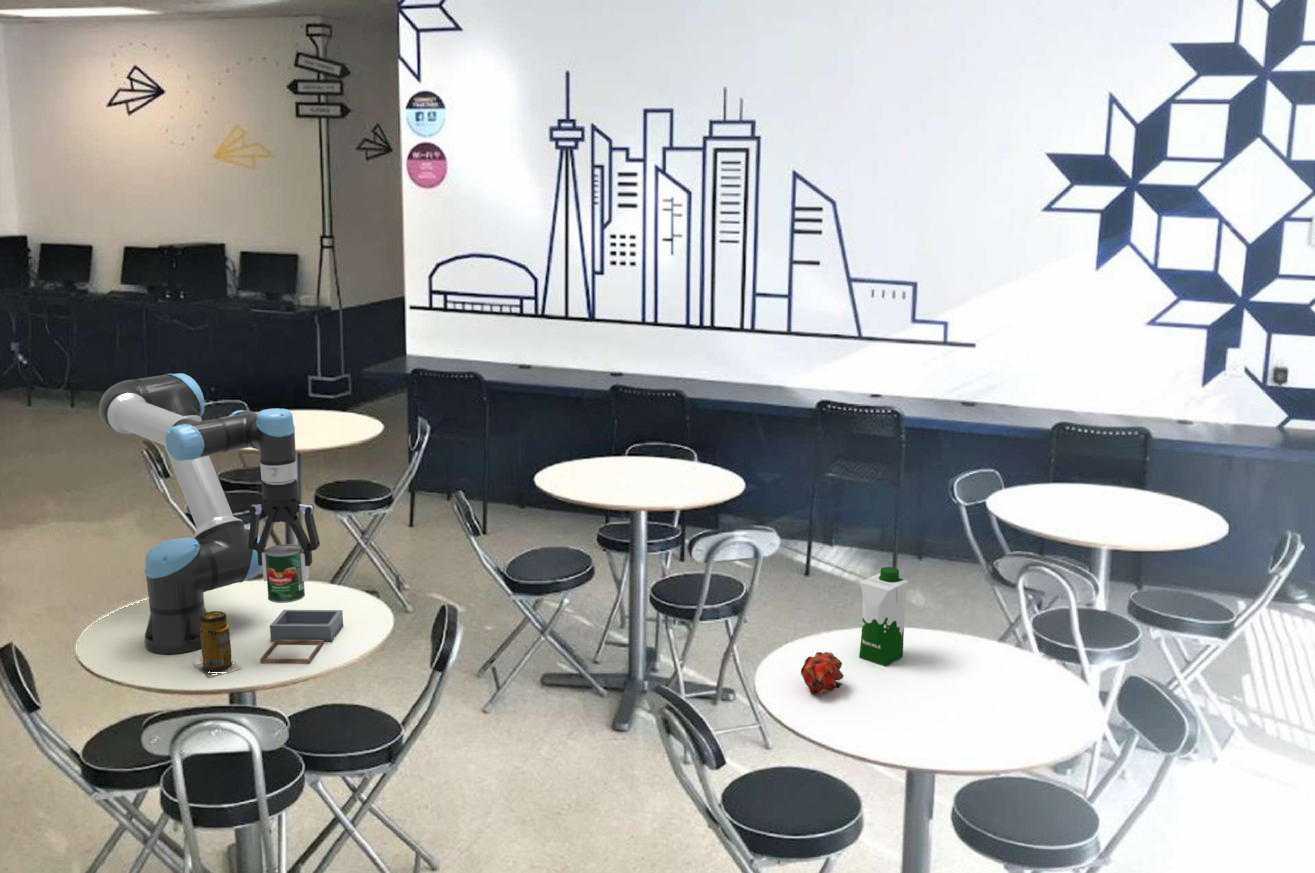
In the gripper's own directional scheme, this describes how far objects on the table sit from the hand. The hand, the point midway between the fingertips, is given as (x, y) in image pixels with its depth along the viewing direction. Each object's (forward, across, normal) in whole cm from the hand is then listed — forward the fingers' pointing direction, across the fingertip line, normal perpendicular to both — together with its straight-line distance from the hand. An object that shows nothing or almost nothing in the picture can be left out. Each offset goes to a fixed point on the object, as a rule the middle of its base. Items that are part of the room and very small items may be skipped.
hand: (286, 578), depth 272 cm
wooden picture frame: (+18, 0, 0) cm, 18 cm away
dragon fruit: (+17, +117, -17) cm, 120 cm away
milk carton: (+17, +132, 0) cm, 133 cm away
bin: (+18, 0, +11) cm, 21 cm away
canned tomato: (+4, 0, -1) cm, 4 cm away
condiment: (+18, -14, -8) cm, 24 cm away
